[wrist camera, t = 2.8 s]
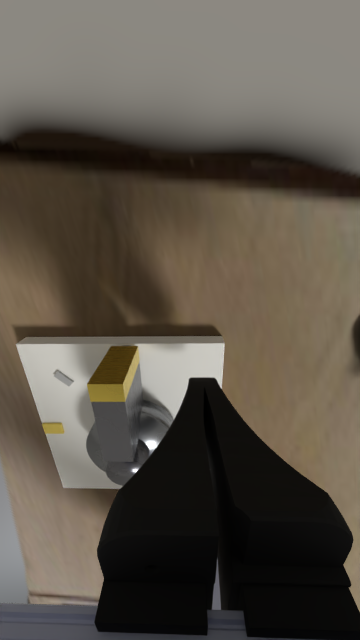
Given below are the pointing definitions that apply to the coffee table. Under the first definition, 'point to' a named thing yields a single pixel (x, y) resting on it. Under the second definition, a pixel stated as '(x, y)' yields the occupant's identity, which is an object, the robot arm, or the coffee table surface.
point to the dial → (122, 416)
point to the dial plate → (73, 397)
